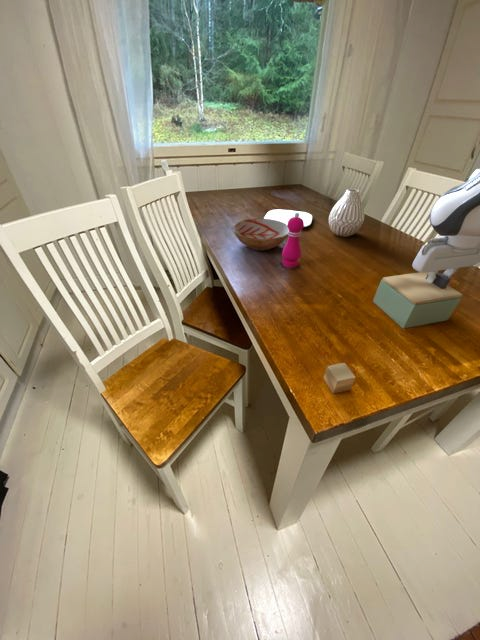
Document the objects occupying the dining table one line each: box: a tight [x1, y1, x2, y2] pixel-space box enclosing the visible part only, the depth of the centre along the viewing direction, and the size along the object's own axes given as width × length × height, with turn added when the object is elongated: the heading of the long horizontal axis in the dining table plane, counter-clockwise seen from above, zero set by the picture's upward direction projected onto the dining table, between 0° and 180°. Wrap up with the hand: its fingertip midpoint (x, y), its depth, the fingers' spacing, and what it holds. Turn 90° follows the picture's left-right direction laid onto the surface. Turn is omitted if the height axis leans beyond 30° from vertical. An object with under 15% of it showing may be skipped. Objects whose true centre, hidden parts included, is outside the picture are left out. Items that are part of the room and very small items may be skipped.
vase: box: [328, 188, 365, 238], centre depth 128 cm, size 16×16×20 cm
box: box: [372, 279, 462, 329], centre depth 83 cm, size 14×16×8 cm
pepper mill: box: [281, 213, 305, 268], centre depth 103 cm, size 7×7×20 cm
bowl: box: [232, 217, 289, 252], centre depth 120 cm, size 25×25×8 cm
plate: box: [263, 209, 313, 228], centre depth 148 cm, size 25×25×2 cm
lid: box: [381, 271, 463, 304], centre depth 79 cm, size 14×16×4 cm
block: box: [323, 362, 356, 395], centre depth 61 cm, size 4×4×4 cm
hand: (436, 281), depth 80 cm, fingers open, 3 cm apart
